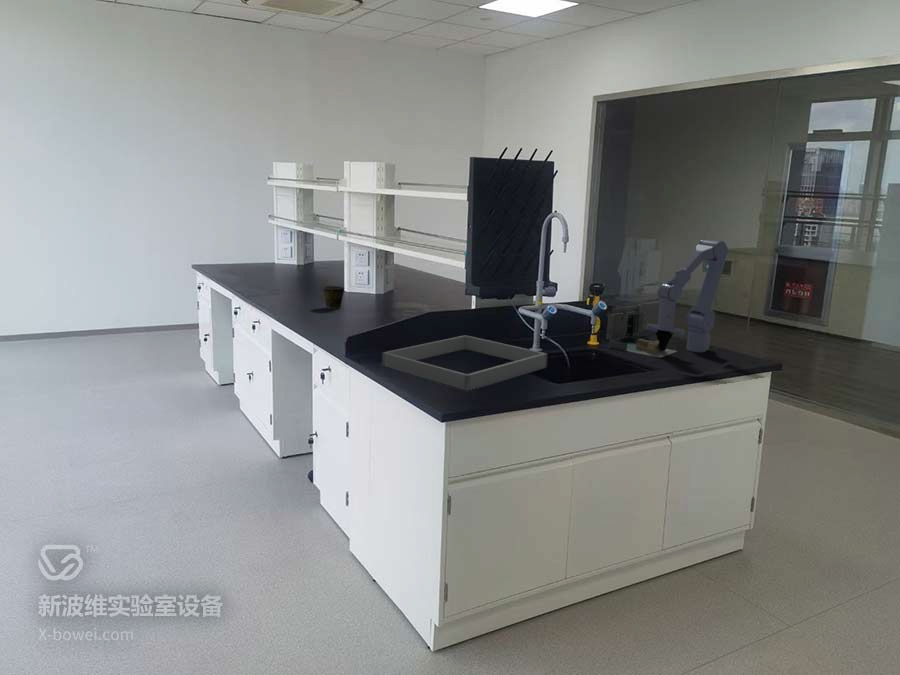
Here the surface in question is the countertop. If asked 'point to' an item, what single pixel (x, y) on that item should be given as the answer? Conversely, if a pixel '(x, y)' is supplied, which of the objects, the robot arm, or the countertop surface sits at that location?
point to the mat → (632, 348)
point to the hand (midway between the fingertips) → (662, 350)
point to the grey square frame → (407, 363)
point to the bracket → (622, 342)
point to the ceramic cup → (333, 296)
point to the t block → (648, 346)
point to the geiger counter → (625, 322)
